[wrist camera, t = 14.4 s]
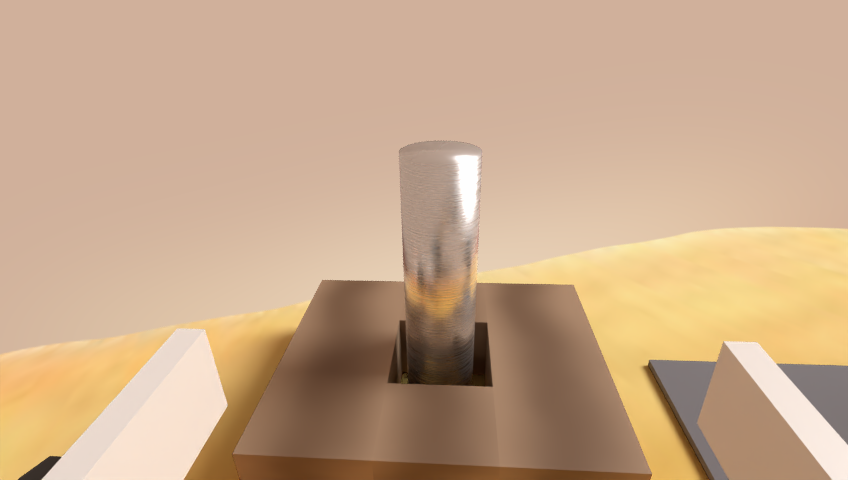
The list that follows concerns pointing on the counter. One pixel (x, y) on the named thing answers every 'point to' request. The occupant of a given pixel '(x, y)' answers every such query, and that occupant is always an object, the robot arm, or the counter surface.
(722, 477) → the rubber mat
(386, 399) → the socket block
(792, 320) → the counter surface
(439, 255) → the metal pin
